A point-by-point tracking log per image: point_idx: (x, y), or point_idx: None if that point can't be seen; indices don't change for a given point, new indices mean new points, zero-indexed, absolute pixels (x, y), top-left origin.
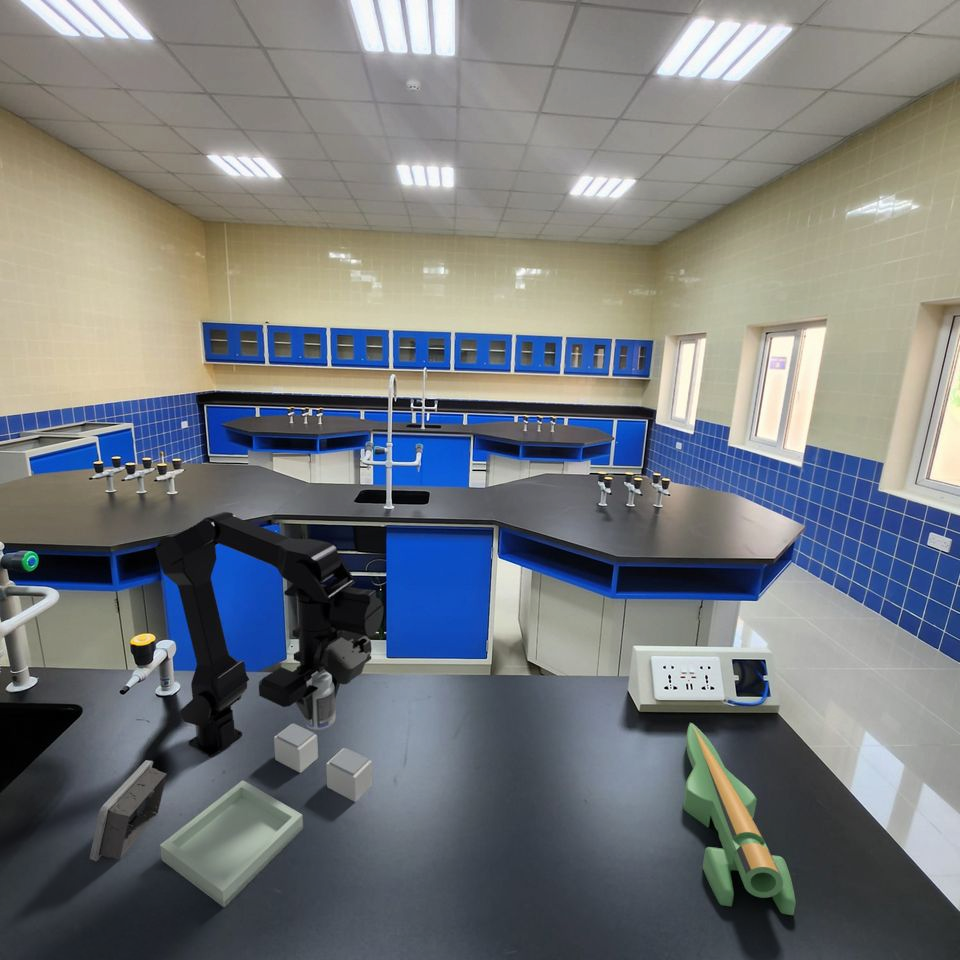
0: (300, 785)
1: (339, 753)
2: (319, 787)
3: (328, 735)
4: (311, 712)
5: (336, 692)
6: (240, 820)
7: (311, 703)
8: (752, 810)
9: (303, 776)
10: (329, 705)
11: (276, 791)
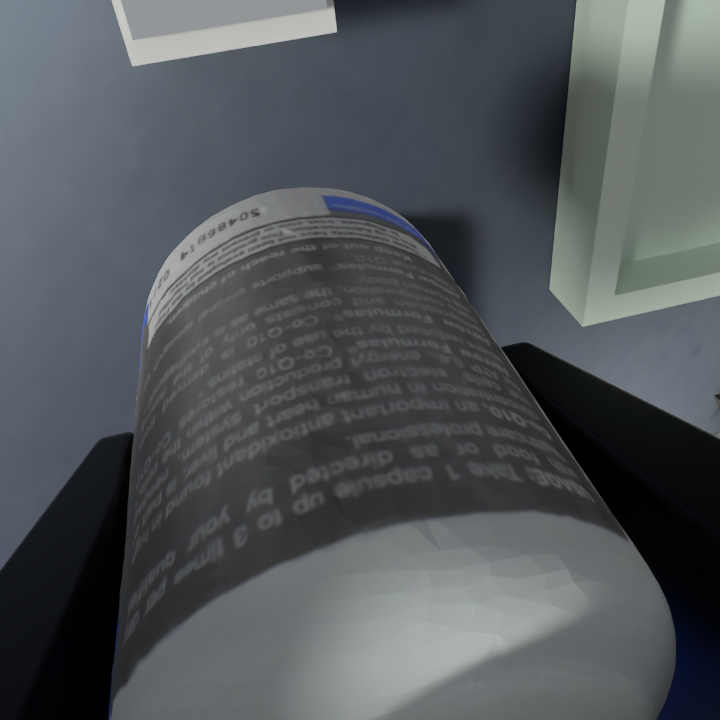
0: (386, 142)
1: (210, 20)
2: (332, 40)
3: (68, 341)
4: (569, 394)
5: (49, 536)
6: (691, 155)
7: (712, 500)
8: None
9: (338, 185)
10: (349, 349)
11: (475, 200)
